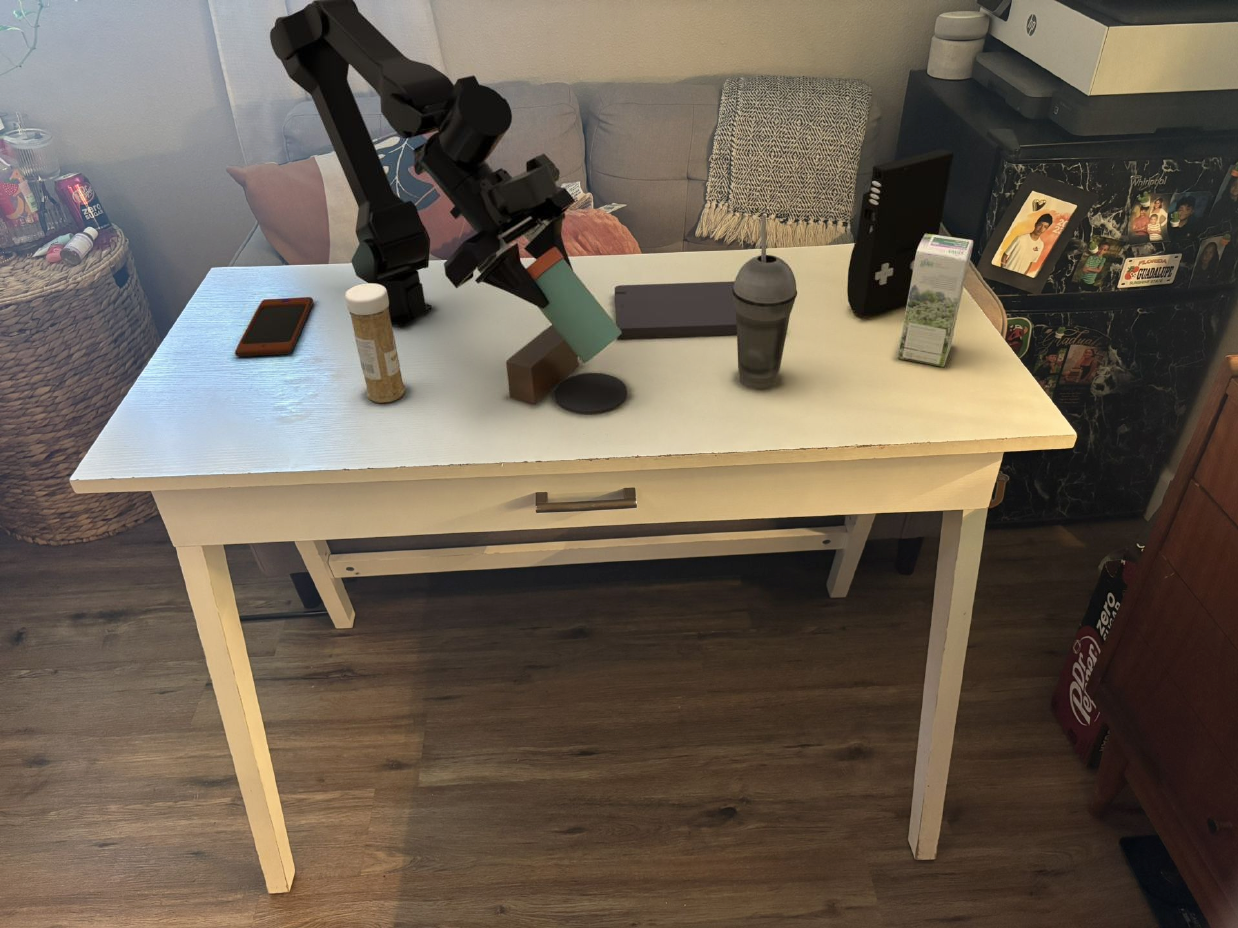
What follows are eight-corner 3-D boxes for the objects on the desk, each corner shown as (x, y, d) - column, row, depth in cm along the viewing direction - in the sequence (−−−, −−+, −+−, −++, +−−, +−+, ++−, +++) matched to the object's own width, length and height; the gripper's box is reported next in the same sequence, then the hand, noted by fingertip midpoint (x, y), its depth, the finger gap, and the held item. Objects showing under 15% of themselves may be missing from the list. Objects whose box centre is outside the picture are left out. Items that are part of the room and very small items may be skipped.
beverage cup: (749, 401, 108) (761, 237, 96) (715, 373, 113) (722, 214, 101) (801, 385, 110) (818, 223, 98) (765, 358, 116) (778, 202, 104)
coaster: (540, 403, 108) (540, 400, 108) (578, 369, 114) (578, 366, 114) (604, 421, 105) (604, 418, 105) (640, 386, 111) (640, 383, 111)
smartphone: (312, 295, 130) (289, 348, 118) (314, 301, 131) (291, 354, 119) (261, 298, 130) (233, 351, 118) (263, 304, 130) (235, 357, 118)
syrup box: (951, 347, 117) (975, 237, 108) (943, 369, 113) (967, 257, 104) (905, 338, 119) (925, 230, 110) (896, 360, 115) (915, 249, 106)
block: (509, 397, 110) (505, 360, 107) (554, 359, 117) (552, 324, 114) (534, 405, 108) (531, 367, 105) (578, 366, 115) (576, 330, 112)
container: (512, 353, 108) (503, 252, 101) (539, 331, 112) (532, 233, 105) (605, 379, 103) (602, 275, 96) (630, 355, 108) (630, 254, 100)
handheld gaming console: (863, 322, 123) (885, 172, 111) (840, 309, 126) (859, 161, 114) (930, 300, 127) (958, 153, 116) (906, 287, 131) (931, 144, 119)
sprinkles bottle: (411, 396, 110) (392, 292, 102) (375, 408, 108) (353, 303, 100) (396, 380, 113) (377, 278, 105) (360, 391, 111) (338, 288, 103)
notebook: (617, 339, 120) (781, 333, 121) (617, 328, 119) (782, 322, 120) (614, 295, 131) (765, 290, 131) (614, 285, 130) (766, 279, 130)
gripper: (453, 165, 90) (556, 293, 92) (556, 113, 103) (644, 227, 105) (401, 228, 97) (498, 345, 100) (503, 172, 110) (586, 277, 113)
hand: (560, 295), depth 104 cm, fingers closed on container, 5 cm apart
